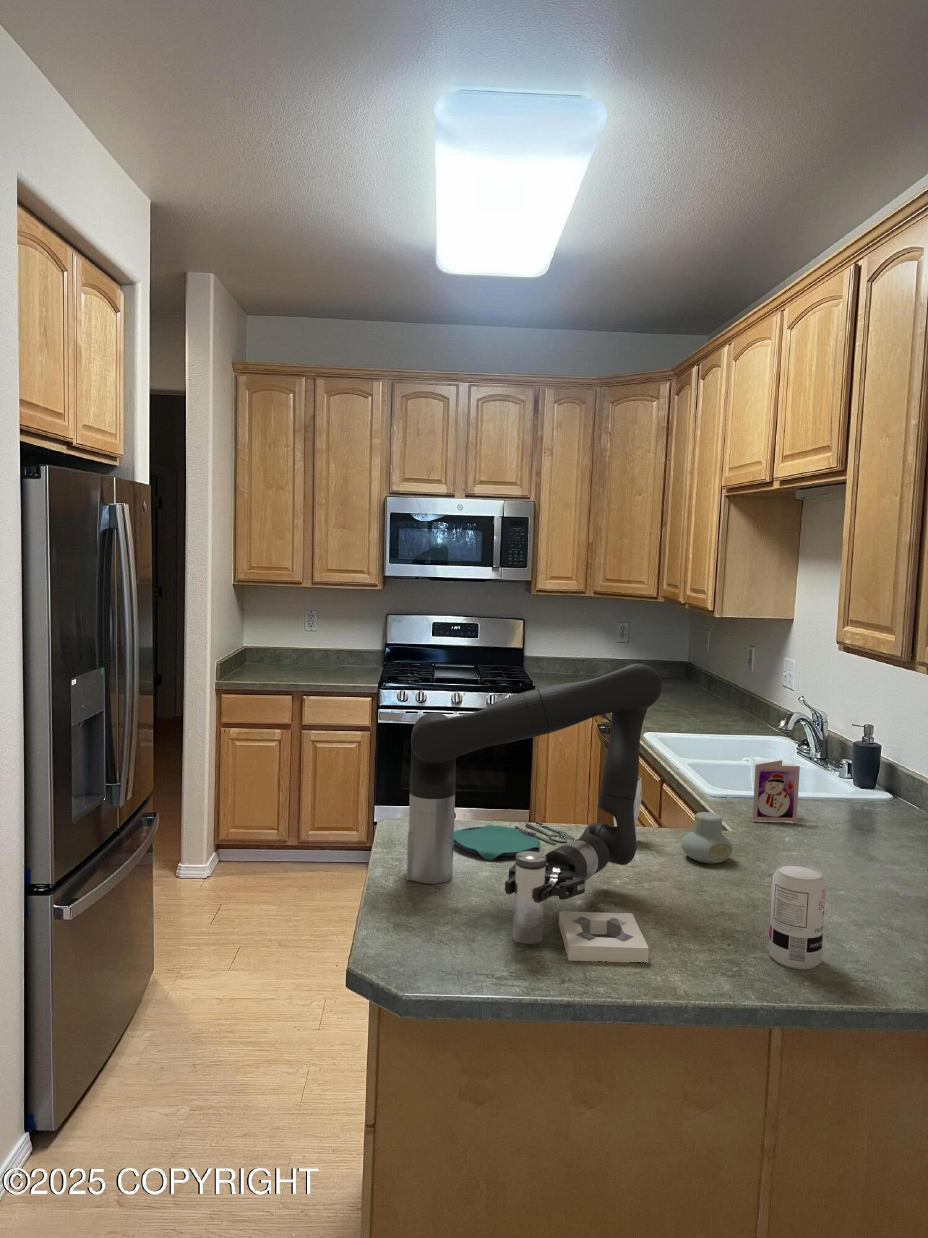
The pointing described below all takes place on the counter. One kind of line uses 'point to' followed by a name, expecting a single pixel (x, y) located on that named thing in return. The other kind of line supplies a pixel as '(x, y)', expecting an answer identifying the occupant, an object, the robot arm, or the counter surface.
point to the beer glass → (636, 805)
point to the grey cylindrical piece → (528, 897)
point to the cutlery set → (503, 840)
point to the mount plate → (590, 948)
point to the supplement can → (797, 916)
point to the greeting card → (776, 792)
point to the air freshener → (707, 840)
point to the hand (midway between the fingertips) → (521, 892)
